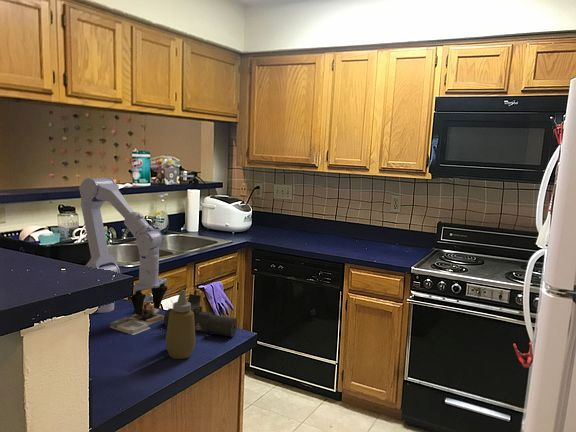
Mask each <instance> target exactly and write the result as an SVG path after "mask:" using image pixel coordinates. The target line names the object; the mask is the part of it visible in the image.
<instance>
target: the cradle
mask: <svg viewBox="0 0 576 432" xmlns="http://www.w3.org/2000/svg"><path fill="white" fill-rule="evenodd" d="M109 325H110V326H109V328H111V329H114V330H117V331H120V332H123V333H126V334H128V335H132V336H133V335H134V336H135V335H137V334H140V333H142V332H145V331H148V330H150V329H151V327H149V325H147V324H146V323H143V322H140V321H137V320H132V319H130V317H127V316H125V317H123V318H120V319H117V320H114V321H110V323H109Z"/></svg>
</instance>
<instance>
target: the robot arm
mask: <svg viewBox="0 0 576 432" xmlns="http://www.w3.org/2000/svg"><path fill="white" fill-rule="evenodd" d="M78 189H79V194H80V198H81V199H80V201H81V202H80V206H81V212H82V216H83V218H82V219H83V222H84V228H85V233H86V238H87V241H88V247H89V253H90V257H91V258H90V259H89V260H88V262H87V263H86V265H85V267H86V266H88V267H92V268H97V269H104V270H111V271H114V272H117V273H120V274H121V270H120V267H119V266H118V264H117V260H116V258H114V257H113V256H112V255H111V254H110V253H109V248H108V242H107V237H106V231H105V227H104V222H103V215H102V211H101V207H102V206H103V205H104V204H105V202H109V204H110V205H111V206H112V207H113V208H114V209H115V210H116V211H117V212H118V213H119V214H120V215H121V216H122V217H123V218H124V221H123V224H124V226H126V228H127V229H128V230H129V232H130V233H131V234H132V235H133V237H134V238H135V245H136V247H137V249H138V254H139V272H138V282H137V283H135V284H133V285H134V293H133V296H132V297H129V298H130V301H131V303H132V306H133V309H134V314H137V315H142V310H143V302H144V299H145V296H146V295H145V294H146V293H144V294H143V293H142V292H143V291H147V290H151V293H152V296H153V302H154V308H156V309H159V310H160V307H161V304H162V301H163V298H164V296H165V294H166V292H167V291H168V286H166V285H167V284H168V279H167V278H164V277H159V270H160V269H159V267H160V265H159V264H160V262H159V261H160V247H162V245H163V244H164V236H163V234H162V232H161V230H158V229H155V228H154V227H153V226H152V225H150V224H149V223H148V221H147V220H146V219H145V218H144V217H145V216H144V214H143V213H140V212H139V211H137V212H136V211H134V210H133V208H132V207H131V206H130V204H129V203H128V202H127V200H126V199H125V197H124V196H123V194H122V193H121V191H120V186H119V184H117V183H116V181H115V180H114V178H112V177H98V178H97V177H96V178H92V177H87V178H84V179H83V181H82V182H81V183H80V185H79V186H78ZM114 310H115V302H114V303H111V304H108V305H104V306H101V307H100V308H98V311H97V312H96V313H101V314H102V313H110V312H112V311H114Z"/></svg>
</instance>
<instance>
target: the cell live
mask: <svg viewBox="0 0 576 432" xmlns="http://www.w3.org/2000/svg"><path fill="white" fill-rule="evenodd" d="M153 317H154V302H151V301H146V302H143V310H142V318H141V320H142V321H145V322H146V320H147V319H150V318H153Z"/></svg>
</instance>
